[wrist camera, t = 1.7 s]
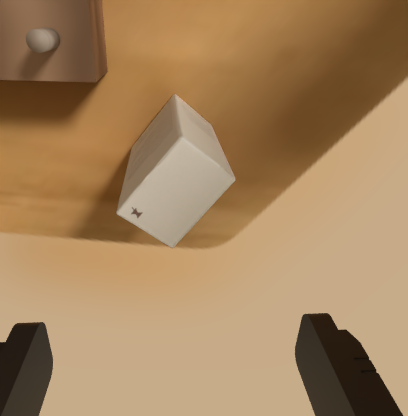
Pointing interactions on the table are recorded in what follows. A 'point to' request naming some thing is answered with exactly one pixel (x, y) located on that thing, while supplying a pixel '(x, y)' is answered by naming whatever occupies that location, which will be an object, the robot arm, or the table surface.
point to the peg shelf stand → (52, 40)
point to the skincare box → (173, 174)
